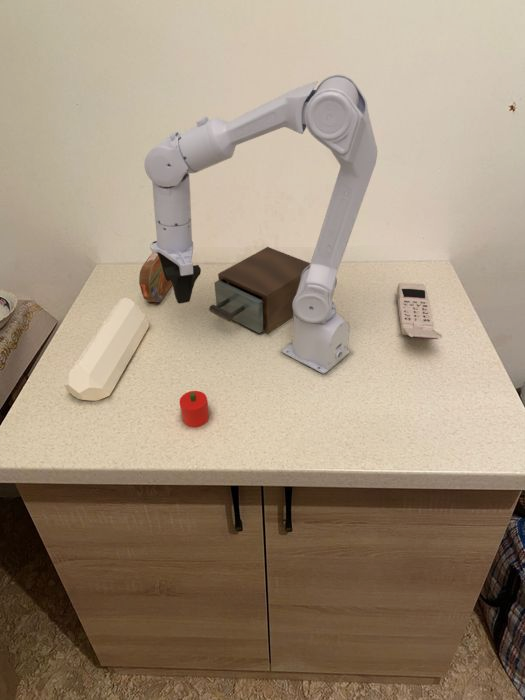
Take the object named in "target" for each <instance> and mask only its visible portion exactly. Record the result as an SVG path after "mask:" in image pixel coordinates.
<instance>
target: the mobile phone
mask: <svg viewBox="0 0 525 700" xmlns="http://www.w3.org/2000/svg"><path fill="white" fill-rule="evenodd" d="M396 293H397V294H396V295H397V296H396V302H397V307H398V315H399V321H400V330H401V334H402V336H409V337H411V338H416V339H428V340H440V339H442V338H443V335H442V334H440V333H439V332H437V331H436V330H434V325H433V319H432V311H431V305H430V301H429V300H430V299H429V295H428V290H427V286H426V284H424V283H414V282H413V283H410V282H399V283H398V285H397V291H396Z"/></svg>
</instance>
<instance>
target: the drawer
mask: <svg viewBox="0 0 525 700" xmlns="http://www.w3.org/2000/svg"><path fill="white" fill-rule="evenodd" d="M226 283H227V284H226ZM226 283H224V282H222V281H220V280H219V279H217V280H216V281H215V282H213V284H214V293H215V304H216V305H215V304H211V305H210V306H209V308H208V312H209V313H211V314H213V315H215V316H217V317H219V318H221V319H222V320H225V321H227V322H228V323H230V322H232V321H234V322H236V323H238V324H240V325H242V326H244V327H246V328H248V329H250V330H252V331H254V332H256V333H258V334H261V333H263V332H262V331H263V324H265V323H264V298H262V297H260V296H258V295H256V294H253V293H251V292H249V291H247V290H245V289H243V288H240V287H238V286H236V285H234V284H232V283H230V282H227V281H226Z"/></svg>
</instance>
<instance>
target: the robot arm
mask: <svg viewBox="0 0 525 700" xmlns="http://www.w3.org/2000/svg"><path fill="white" fill-rule="evenodd" d="M318 82H319V81H318V80H315V81H312V82H309V83H306V84H303V85H301V86H299V87H297V88H294V89H292V90H291V89H290V90H289V91H287V92H285V93H282V94H281V95H279V96H277V97H275V98H273V99H270V100H269V101H267V102H265V103H263V104H260V105H259V106H257V107H255V108H253V109H251V110H249V111H247V112H245V113H243V114H241V115H239V116H238V117H235V118H234V119H232V120H230V121H227V120H224V119H222V118H220V117H217V116H215V117H212V118H210V119H209V117H208V116H207V115H205V116H203V117H201V118H199V119H198V120H197V121H196V125H195V126H193V127H191V128H189V129H186V130H185V131H183V132H181V133H179V131H174V132H172V133H171V134H169V137H166V138H164V139H162V141H160V142H159V143H158V144H156V145H155V146H154V147H153V148H151V149H150V150H149V151H148V153H147V154H146V155H145V158H144V171H145V173H146V175H147V177H148V178H149V180H150V181H151V183H152V196H153V197H152V198H153V208H154V209H153V210H154V220H155V233H156V234H155V235H156V240H155V241H152V242H151V243H150V244H149V247H150V251H151V253H153V252H154V253H157V254H158V256H159V259H160V262H161V265H162V268H163V272H164V275H165V278H166V280H167V281H170V280H171V282H172V285H171V286H172V289H173V293H174V298H175V300H176V302H177V304H178V305H180V304H185V303H190V301H191V299H192V293H193V289H194V286H195V284H196V281H197V280H198V278H199V276H200V275H201V272H202V269H201V267H200V265H199V264H194V263H193V253H194V241H193V231H192V203H191V201H192V199H191V185H190V181H191V180H190V174H197V173H198V172H201V171H203V170H205V169H208V168H211V167H213V166H216V165H217V164H219V163H222V162H224V161H227V160H230V159H232V157H233V156H234V153H235V150H236V146H238V145H241V144H243V143H245V142H249V141H251V140H253V139H254V140H255V139H257V138H259V137H261V136H264V135H267V134H269V133H272V132H275V131H277V130H280V129H283V128H286V129H289V130H292V131H293V132H295V133H298V134H300V135H303V134H304V133H305V131H306V129H307V130H308V132H309V133H310V135H311V136H312V138H314V139H315V140H317V141H318V142H319V143H321V145H322V146H325V147H326V148H327V149H328V150H330V152H331V153H332V155H333V156H334V157H335V159H336V161H337V163H338V164H339V166H340V167H339V171H338V173H337V177H336V180H335V184H334V187H333V190H332V192H331V197H330V199H329V203H328V206H327V210H326V211H325V215H324V216H325V217H324V218H323V221H322V226H321V228H320V232H319V235H318V239H317V241H316V245H315V248H314V251H313V255H312V258H311V260H310V262H309V263H310V264H309V265H308V266H307V267H306V268H305V269H304V270H303V272H302V274H301V277H300V284H299V287H298V290H297V293H296V296H295V298H294V300H293V304H292V306H293V311H294V313H293V317H292V318H293V319H292V323H293V324H292V342H291V343H290V344H289V345H287V346H286V347H285V348H283V349H282V353H283V354H284V355H286V356H288V357H290V358H292V359H294V360H295V361H297V362H299V363H301V364H303V365H305V366H307V367H309V368H311V369H313V370H314V371H316V372H318V373H320V374H322V375H325V374H327V373H328V372H329V371H330V370H332V369H333V368H334V367H335V366H336V365H337V364H339V362H341V361H342V360H343V359H344V358H345V357H347V356H348V355H349V354H350V350H349V339H350V330H351V329H350V328H351V327H350V323H349V322H348V321H347V320H346V319H344V318H343V317H341V315H339V313H338V312H337V306H336V304H335V301H334V300H333V299H334V295H335V290H336V287H337V283H338V277H337V276H338V271H339V268H340V265H341V263H342V260H343V257H344V255H345V251H346V249H347V245H348V243H349V240H350V237H351V234H352V232H353V229H354V226H355V223H356V220H357V218H358V215H359V212H360V209H361V206H362V203H363V201H364V197H365V195H366V192H367V189H368V187H369V184H370V181H371V178H372V175H373V172H374V170H375V167H376V164H377V158H378V147H377V142H376V138H375V133H374V131H373V126H372V122H371V117H370V113H369V108H368V101H367V98H366V97H365V96H364V94H363V92H362V91H361V89H360V88H359V86H358V85H357V83H355V81H354V80H353V79H352V78H350V77H349V76H346V75H344V74H332V75H329V76H327V77H326V78H324V79H323V80H321V81H320V83H319V84H318ZM317 84H318V86H317ZM316 86H317V87H316ZM315 87H316V89H315Z"/></svg>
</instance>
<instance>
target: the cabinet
mask: <svg viewBox="0 0 525 700" xmlns="http://www.w3.org/2000/svg"><path fill="white" fill-rule="evenodd" d="M310 263H311V262H308V261H306V260H303V259H300V258H298V257H295V256H293V255H290V254H287V253H285V252H282V251H280V250H277V249H275V248H272V247H269V246H266V247H264V248H263V249H261V250H259V251H256V253H253V254H252V255H250V256H248V257H246V258H245V259H242V260H241V261H239V262H237V263H235V264H233V265H231V266H230V267H228V268H226V269H224V270H222V271H220V272H219V273H217V277H218V279H217V280H220V281H222V282H224V283H226V281H227V282H230V283H232V284H234V285H236V286H238V287H240V288H243V289H245V290H247V291H249V292H251V293H253V294H256V295H258V296H260V297H262V298H264V323H265V324H263V331H262V332H261V333H265V334H266V335H269V334H270V333H272V332H274V331H275V330H276V329H277V328H279V327H280V326H282V325H283V324H285V323H286V322H287V321H289V320H290V319H291V318H293V313H294V311H293V306H292V304H293V300H294V298H295V296H296V293H297V290H298V287H299V284H300V277H301V274H302V272H303V270H304V269H305V268H306V267H307V266H308V265H309V264H310ZM226 284H227V283H226Z"/></svg>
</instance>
